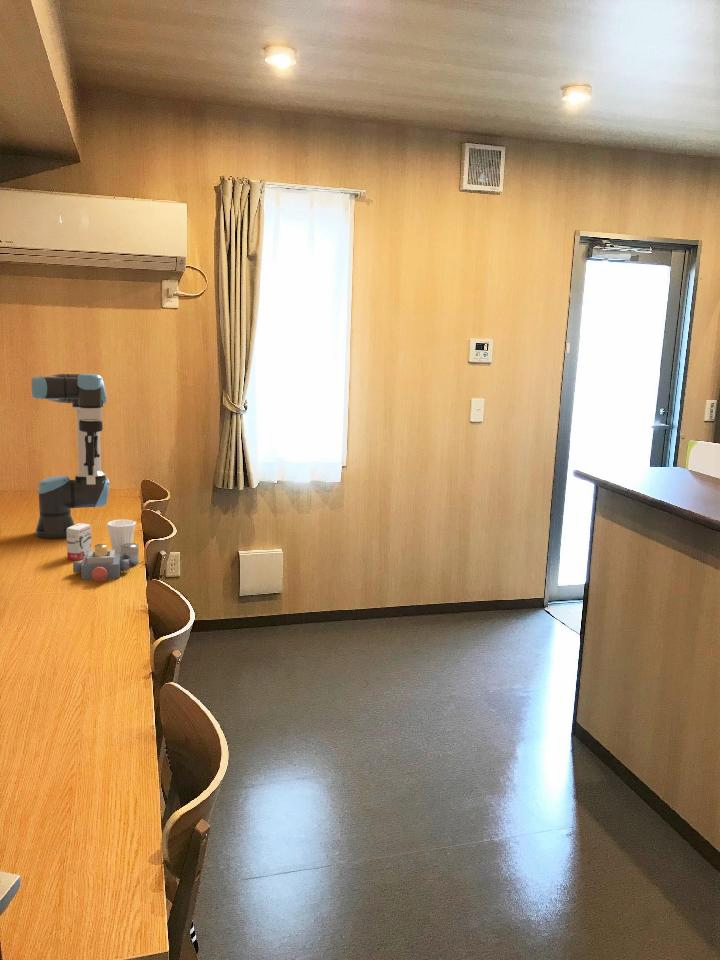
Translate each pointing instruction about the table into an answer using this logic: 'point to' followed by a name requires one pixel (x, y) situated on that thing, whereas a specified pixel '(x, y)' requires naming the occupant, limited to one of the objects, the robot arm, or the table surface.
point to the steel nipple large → (130, 553)
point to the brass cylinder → (100, 550)
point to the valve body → (101, 566)
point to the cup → (121, 533)
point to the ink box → (78, 541)
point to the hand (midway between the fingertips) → (92, 480)
